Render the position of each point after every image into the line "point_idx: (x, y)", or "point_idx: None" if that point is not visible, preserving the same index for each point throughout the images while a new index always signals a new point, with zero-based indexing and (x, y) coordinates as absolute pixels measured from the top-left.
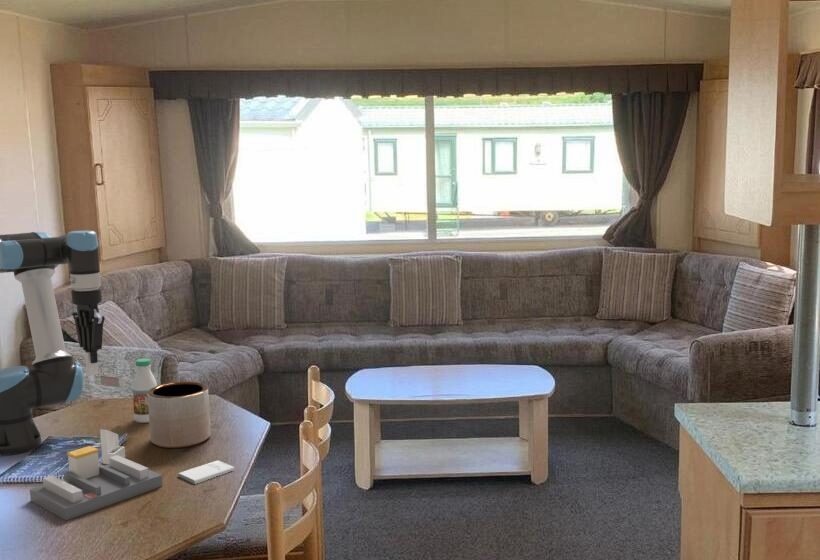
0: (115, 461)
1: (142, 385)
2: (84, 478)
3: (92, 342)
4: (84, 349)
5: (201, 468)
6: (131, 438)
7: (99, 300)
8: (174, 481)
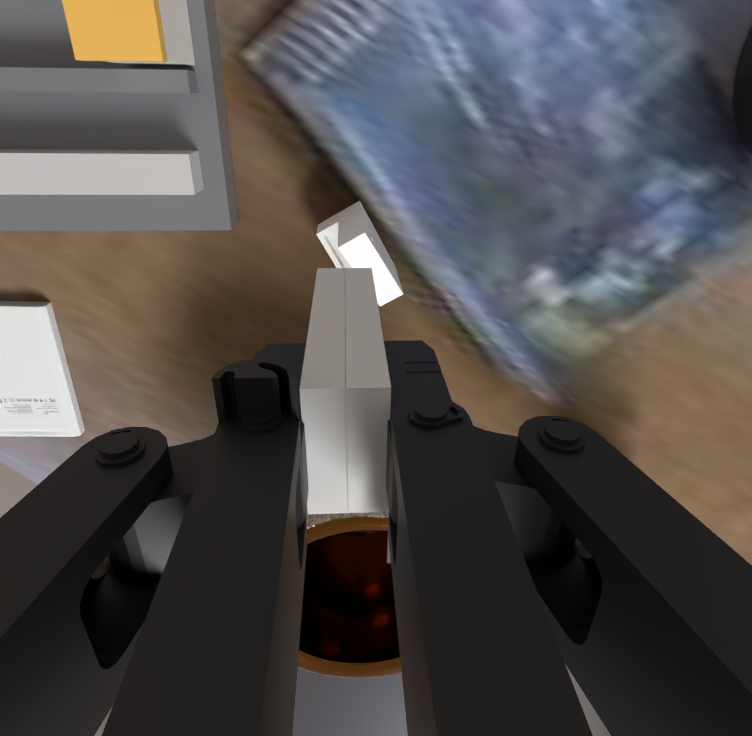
0: (137, 153)
1: None
2: None
3: (33, 549)
4: (413, 407)
5: (34, 372)
6: (496, 386)
7: None
8: (11, 271)
